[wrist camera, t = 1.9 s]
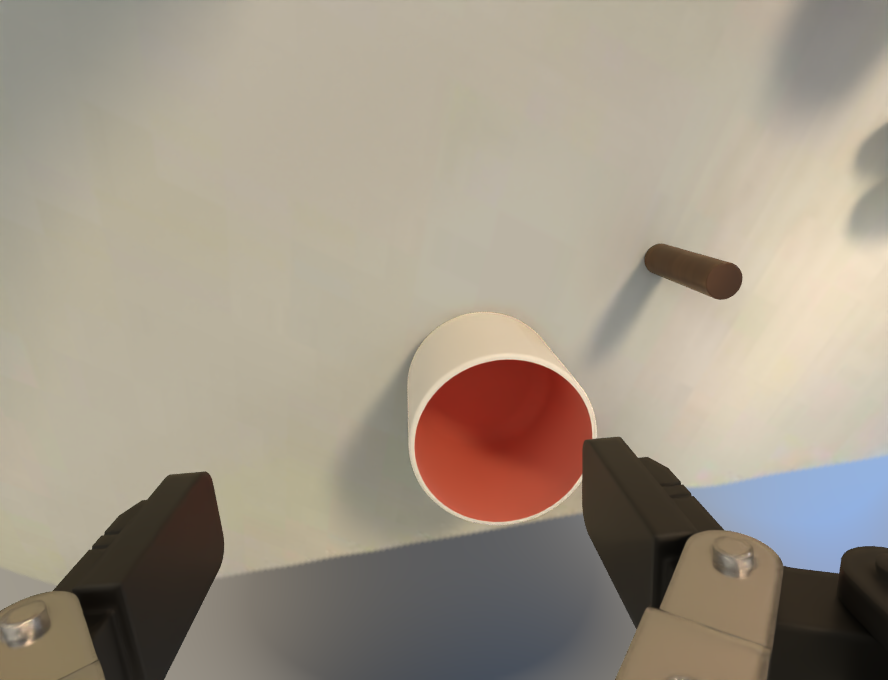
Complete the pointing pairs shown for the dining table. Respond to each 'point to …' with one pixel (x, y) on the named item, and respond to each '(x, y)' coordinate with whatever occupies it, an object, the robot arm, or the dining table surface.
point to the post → (694, 270)
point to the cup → (495, 420)
